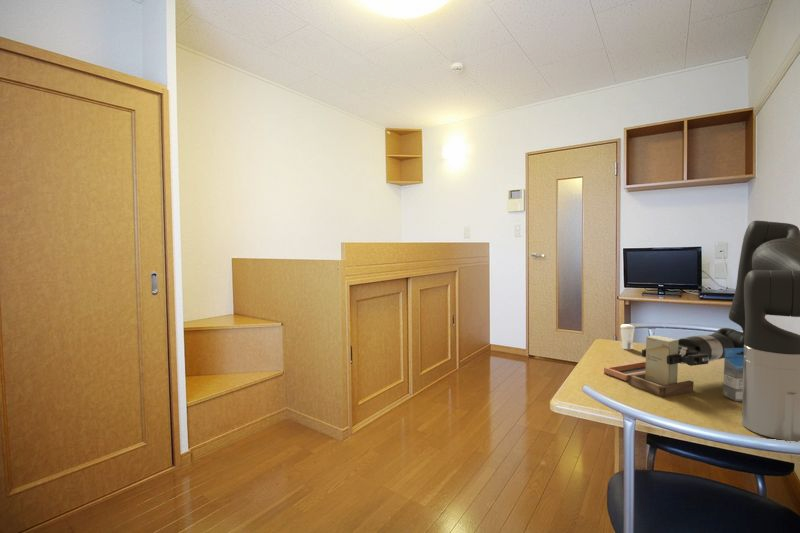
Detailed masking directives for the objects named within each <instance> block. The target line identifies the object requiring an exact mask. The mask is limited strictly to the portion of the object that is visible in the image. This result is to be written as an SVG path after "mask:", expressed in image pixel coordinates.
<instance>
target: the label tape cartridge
mask: <svg viewBox="0 0 800 533" xmlns="http://www.w3.org/2000/svg"><path fill="white" fill-rule="evenodd" d="M724 351H725V358H724V361H723V362H724V365H723V386H722V387H723V389H722V396H724V397H725V398H728V399H730V400H732V401H734V402H743V363H744V355H737V354H736V353H741V352H742V351H743V352H744V348H724Z"/></svg>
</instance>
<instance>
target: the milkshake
mask: <svg viewBox="0 0 800 533" xmlns="http://www.w3.org/2000/svg"><path fill="white" fill-rule="evenodd" d="M637 323H638V322H635V323H634V325H632V324H627V323H626V324H625V323H623V324H620V327H619V328H620V336H621V338H620V339H621V348H622V349H623V350H627V351H631V350H633V344H634V334H635V327H636V325H637Z"/></svg>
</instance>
